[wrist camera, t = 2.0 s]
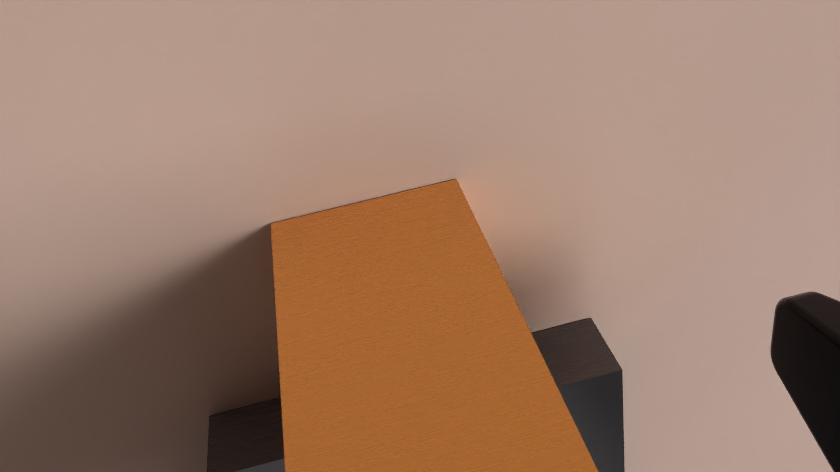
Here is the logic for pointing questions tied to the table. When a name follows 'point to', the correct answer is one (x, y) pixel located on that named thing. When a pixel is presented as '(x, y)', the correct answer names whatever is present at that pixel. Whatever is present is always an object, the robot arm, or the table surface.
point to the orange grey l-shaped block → (417, 356)
